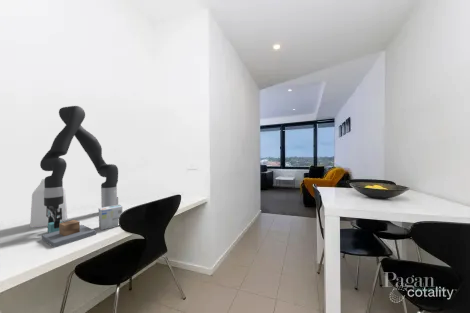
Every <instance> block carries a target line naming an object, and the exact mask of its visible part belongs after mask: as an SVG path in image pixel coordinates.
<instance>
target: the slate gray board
mask: <svg viewBox="0 0 470 313" xmlns="http://www.w3.org/2000/svg"><path fill="white" fill-rule="evenodd" d="M95 235H97V230H95V229H93V228H91V227H89V226H86V225H83V224H80V232H78V233H74V234H71V235H67V236H63V235H61V234H59V231H56V232H52V233H49V232H48V233H45V234H42V235H41V240H42V241H44V242H45V243H47V244H48V245H49V246H51V247H53V248H58V247H61V246H64V245H66V244H69V243H73V242H77V241H79V240H82V239H86V238H90V237H92V236H95Z"/></svg>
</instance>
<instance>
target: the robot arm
mask: <svg viewBox="0 0 470 313" xmlns="http://www.w3.org/2000/svg"><path fill="white" fill-rule="evenodd" d="M58 115H59V117H60V119H61V121H62V122H63V123H64V124H65V126H64V127H63V129H61V131H59V133H58V134H57V135H55V138H54V139H53V141H52V144H51V146H50V149H49V150H48V151H47V152H46V153H45V155H43V157H42V158H41V161H40V163H39V164H40V168H41V170H42V171H45V172H51V175H49V176H45V178H44V179H45V181H44V182H45V189H44V206H46V216H47V218H49V219H48V223H51V222H54V228H55V229H56V228H59V223H60V220H62V208H59V205H60V204H63V188H64V187H63V185H64V184H63V183H64V182H63V178H64V176H65V174H66V169H67V162H66V160H65V159H64V158H62V156H65V155H67V153H68V151H69V148H70V145H71V143H72V142H73V141H72V140H73V139H74V137H75V138H76V140H77V142H78V143H79V144H80V146H81V147H82V149H83V151H84V152H85V153H86V155H87V157H89V159H90V161H91V162H92V164H93V166H94V168H95V170H96V172H97V173H98V175H99V176H100V177H102V178H105V181H104V182H102V183H101V186H100V196H101V197H100V200H101V203H100V204H101V208H103V207H108V206H114V205H119V197H118V191H117V190H118V189H117V188H118V186H117V184H118V182H119V168H118V166H117V165H116V164H113V163H109V164H108V163H106V161H105V159H104V158H103V155H102V154H103V153H102V152H103V148H102V145H101V144H100V142H99V140H98V139H97V138H96V136H95V135H93V134H92V133H90V131H88V130H86V128H84V127H83V126H82V123H83V121H84V120H85V117H86V112H85V110H84V109H83V107H81V106H79V105H71V106H63V107H60V108H59V109H58ZM57 217H58V218H57Z"/></svg>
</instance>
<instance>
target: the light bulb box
mask: <svg viewBox="0 0 470 313" xmlns="http://www.w3.org/2000/svg"><path fill="white" fill-rule="evenodd" d="M122 213H124V212H123V206H122V205H121V204H118V205H114V206H108V207H103V208H102V207H98V227H99V229H100V230H101V231H102V230H107V229H111V228H115V227H120V226H119V225H118V219H119V217H120V215H121V214H122Z"/></svg>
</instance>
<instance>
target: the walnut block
mask: <svg viewBox="0 0 470 313" xmlns="http://www.w3.org/2000/svg"><path fill="white" fill-rule="evenodd" d="M80 225H81V223H80V221H78V220H77V219H72V220H68V221H63V222H62V223H59V234H61V235H63V236H67V235H71V234H74V233H78V232H80Z"/></svg>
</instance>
